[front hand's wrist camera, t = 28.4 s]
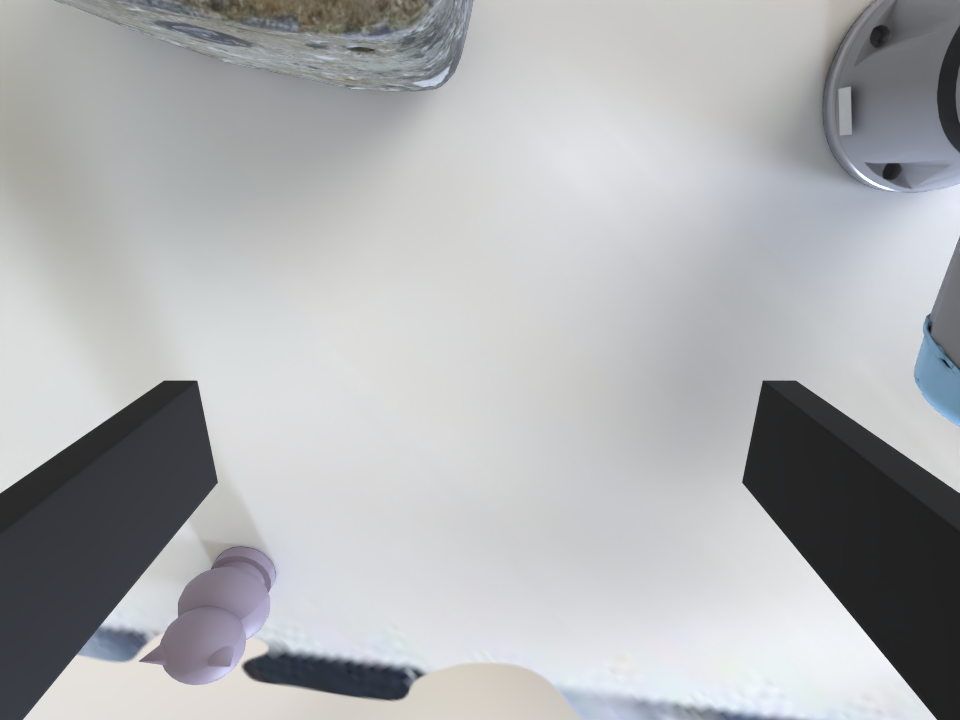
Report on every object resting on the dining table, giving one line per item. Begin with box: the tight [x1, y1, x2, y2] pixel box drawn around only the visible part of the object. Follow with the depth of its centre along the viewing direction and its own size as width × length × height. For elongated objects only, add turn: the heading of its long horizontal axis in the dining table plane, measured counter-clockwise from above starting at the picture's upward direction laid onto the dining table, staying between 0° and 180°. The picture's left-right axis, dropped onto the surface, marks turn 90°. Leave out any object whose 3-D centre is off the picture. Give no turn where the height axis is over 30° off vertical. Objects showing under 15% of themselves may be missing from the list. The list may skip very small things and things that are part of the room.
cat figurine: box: [139, 547, 276, 685], centre depth 50 cm, size 9×8×12 cm
